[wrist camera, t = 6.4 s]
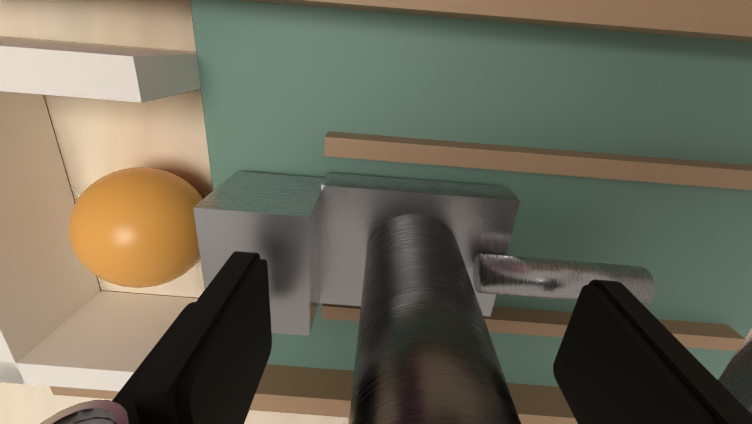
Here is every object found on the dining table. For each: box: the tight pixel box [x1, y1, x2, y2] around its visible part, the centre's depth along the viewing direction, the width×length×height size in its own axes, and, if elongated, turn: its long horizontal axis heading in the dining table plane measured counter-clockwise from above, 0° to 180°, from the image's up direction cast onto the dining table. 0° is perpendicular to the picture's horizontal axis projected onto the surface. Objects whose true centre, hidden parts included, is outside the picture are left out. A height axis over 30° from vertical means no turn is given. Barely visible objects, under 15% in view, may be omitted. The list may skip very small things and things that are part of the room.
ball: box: [69, 167, 203, 288], centre depth 12 cm, size 4×4×4 cm
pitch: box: [0, 0, 752, 424], centre depth 12 cm, size 28×16×4 cm, turn 86°
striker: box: [193, 171, 655, 424], centre depth 7 cm, size 13×4×12 cm, turn 86°
